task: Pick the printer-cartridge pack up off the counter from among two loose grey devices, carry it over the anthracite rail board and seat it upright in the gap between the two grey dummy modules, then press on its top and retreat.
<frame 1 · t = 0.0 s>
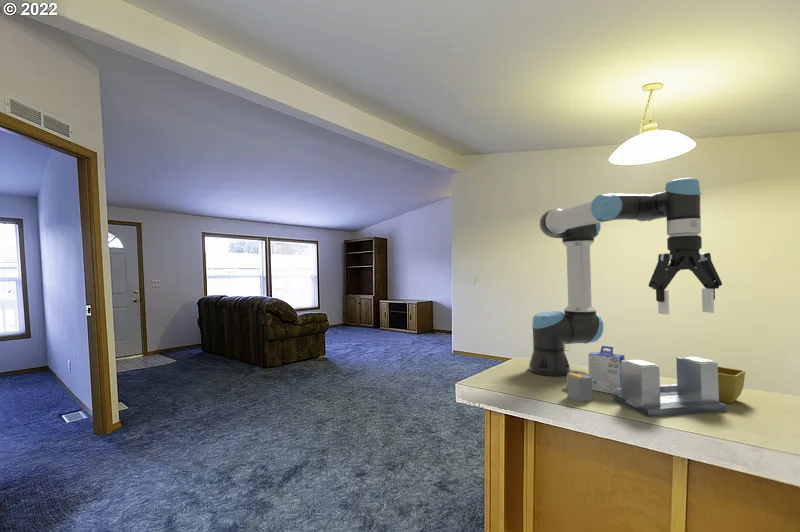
hand: (686, 313, 102), 28 cm above the countertop, fingers open, 13 cm apart
flower pot: (723, 400, 114), on the countertop
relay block: (579, 398, 117), on the countertop
ink cartridge box: (607, 391, 124), on the countertop
rail board: (666, 405, 110), on the countertop
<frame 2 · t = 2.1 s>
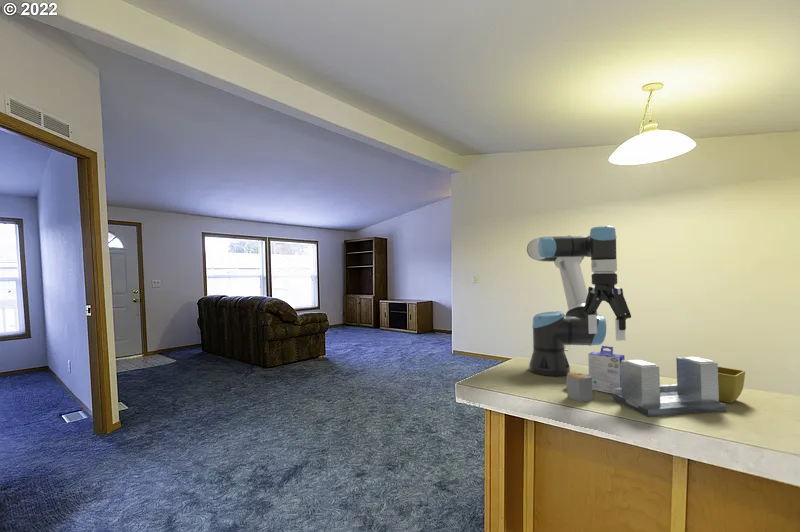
hand: (606, 336, 124), 18 cm above the countertop, fingers open, 13 cm apart
nothing on the countertop moved.
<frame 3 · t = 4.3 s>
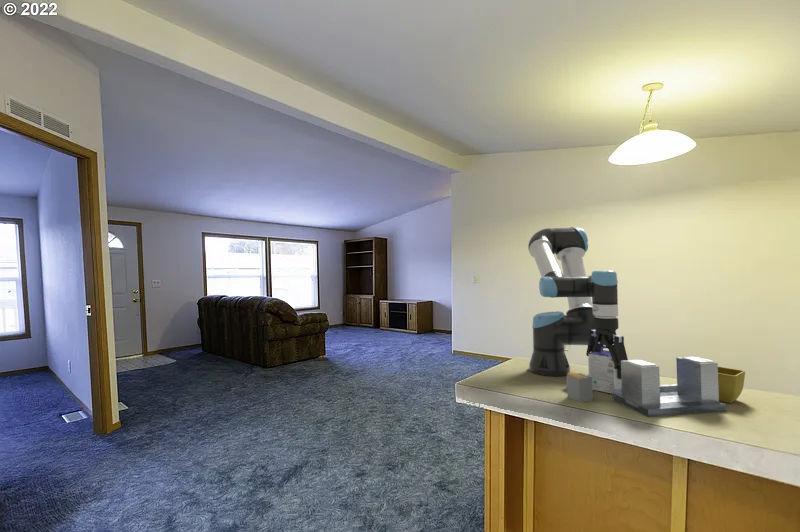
hand: (607, 383, 124), 2 cm above the countertop, fingers closed on ink cartridge box, 10 cm apart
ink cartridge box: (607, 391, 124), on the countertop, touching gripper
everything else where it was.
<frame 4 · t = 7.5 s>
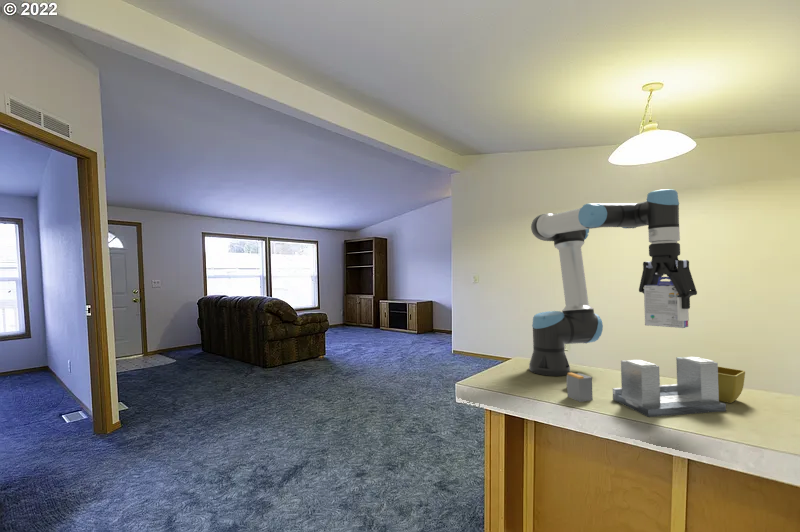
hand: (666, 318, 109), 26 cm above the countertop, fingers closed on ink cartridge box, 10 cm apart
ink cartridge box: (666, 326, 109), point 23 cm above the countertop, touching gripper
everything else where it was.
when the fingers open (6 cm above the countertop, at t = 10.7 s): ink cartridge box drops 1 cm, resting on rail board.
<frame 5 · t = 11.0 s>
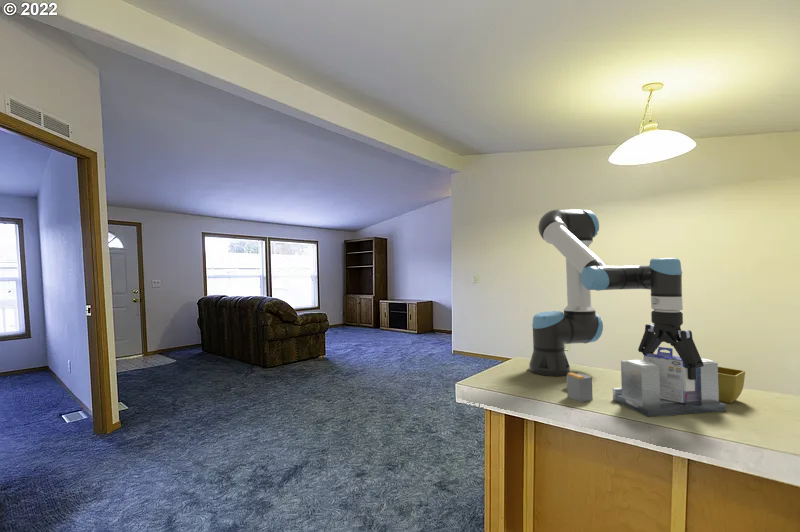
hand: (668, 383, 109), 7 cm above the countertop, fingers open, 13 cm apart
ink cartridge box: (665, 398, 110), point 2 cm above the countertop, touching gripper, rail board
everything else where it was.
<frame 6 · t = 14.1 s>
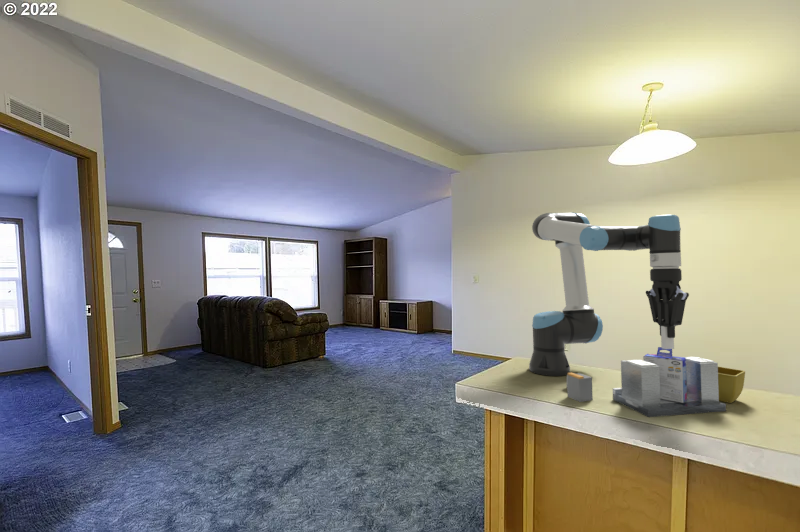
hand: (667, 348, 109), 17 cm above the countertop, fingers closed
ink cartridge box: (665, 398, 110), point 2 cm above the countertop, touching rail board
everything else where it was.
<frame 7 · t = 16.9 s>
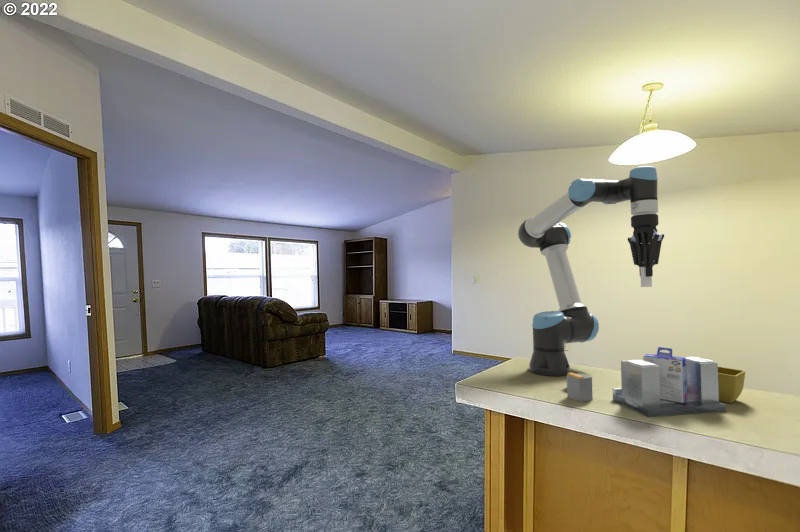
hand: (646, 286, 122), 34 cm above the countertop, fingers closed
nothing on the countertop moved.
at the end: ink cartridge box inside the target area (1.2 cm from its centre), point 1.9 cm above the countertop; ink cartridge box tilted 0°; the gripper is holding nothing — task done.
